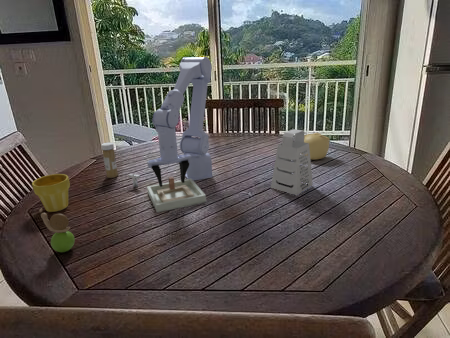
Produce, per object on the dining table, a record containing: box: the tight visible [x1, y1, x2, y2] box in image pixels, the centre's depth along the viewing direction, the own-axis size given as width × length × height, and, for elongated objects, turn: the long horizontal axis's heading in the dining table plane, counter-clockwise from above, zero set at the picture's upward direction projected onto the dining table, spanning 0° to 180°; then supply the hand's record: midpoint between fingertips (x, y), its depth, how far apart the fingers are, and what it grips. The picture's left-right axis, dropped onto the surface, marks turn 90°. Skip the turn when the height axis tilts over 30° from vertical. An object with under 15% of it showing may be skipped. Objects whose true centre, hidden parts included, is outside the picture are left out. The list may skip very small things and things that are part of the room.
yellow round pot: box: [302, 132, 330, 161], centre depth 144 cm, size 11×12×11 cm
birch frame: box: [157, 176, 194, 203], centre depth 112 cm, size 10×10×5 cm
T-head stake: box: [127, 173, 141, 188], centre depth 122 cm, size 4×2×4 cm, turn 67°
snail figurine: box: [38, 208, 75, 253], centre depth 83 cm, size 5×6×12 cm
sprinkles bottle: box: [100, 141, 119, 179], centre depth 131 cm, size 5×5×14 cm
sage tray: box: [146, 178, 207, 213], centre depth 112 cm, size 16×16×2 cm
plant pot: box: [31, 173, 71, 213], centre depth 107 cm, size 10×10×10 cm
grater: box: [270, 128, 314, 195], centre depth 114 cm, size 10×10×20 cm
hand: (171, 183), depth 115 cm, fingers open, 7 cm apart
